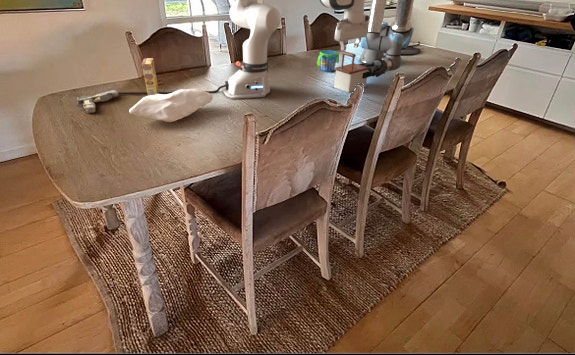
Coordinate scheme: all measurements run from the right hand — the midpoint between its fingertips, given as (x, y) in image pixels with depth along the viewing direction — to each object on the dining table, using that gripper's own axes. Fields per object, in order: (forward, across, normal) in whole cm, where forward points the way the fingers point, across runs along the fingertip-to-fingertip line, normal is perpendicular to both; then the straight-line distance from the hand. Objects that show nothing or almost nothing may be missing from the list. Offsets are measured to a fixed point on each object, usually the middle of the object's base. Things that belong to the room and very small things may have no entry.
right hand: (355, 73), depth 184 cm
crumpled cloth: (+90, +22, -7) cm, 93 cm away
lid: (+3, 0, +2) cm, 4 cm away
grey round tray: (-89, +34, -7) cm, 96 cm away
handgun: (+109, +50, -7) cm, 120 cm away
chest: (+3, 0, -7) cm, 7 cm away
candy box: (+86, +47, -7) cm, 99 cm away
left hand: (+7, 0, +13) cm, 15 cm away
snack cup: (-9, +27, -7) cm, 29 cm away
